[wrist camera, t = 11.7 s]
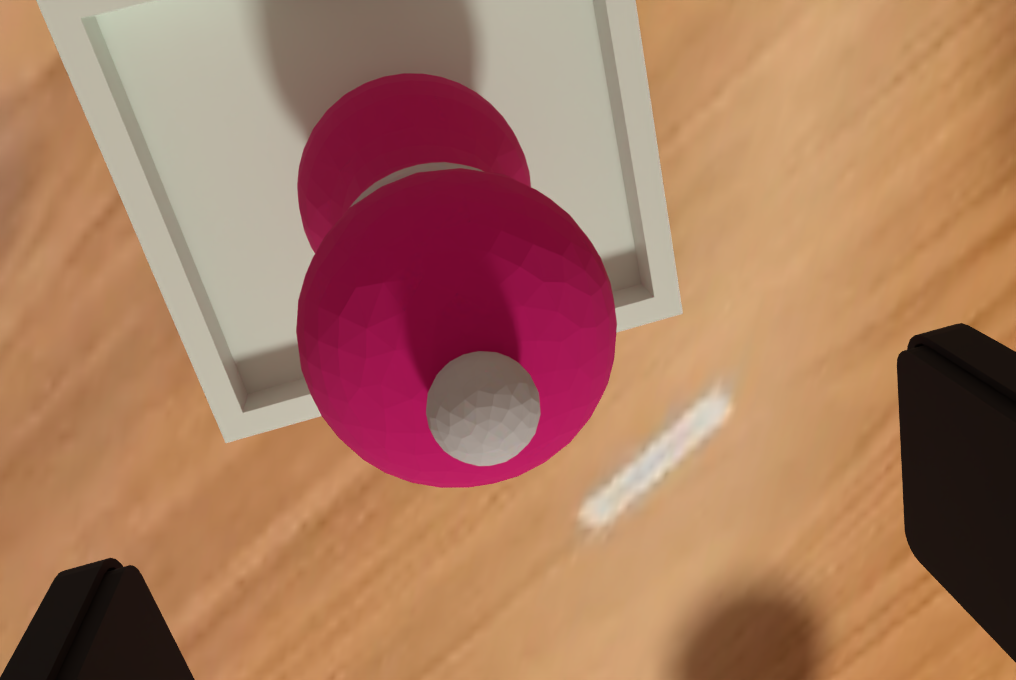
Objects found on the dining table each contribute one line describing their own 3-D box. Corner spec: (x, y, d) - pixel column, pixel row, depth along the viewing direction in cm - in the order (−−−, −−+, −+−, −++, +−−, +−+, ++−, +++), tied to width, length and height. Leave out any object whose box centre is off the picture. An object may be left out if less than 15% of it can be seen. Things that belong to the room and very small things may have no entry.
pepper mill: (292, 65, 29) (192, 206, 10) (504, 58, 30) (749, 173, 12) (315, 270, 31) (268, 662, 13) (508, 256, 32) (710, 602, 14)
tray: (594, -141, 28) (612, -151, 26) (663, 294, 35) (683, 313, 33) (55, -10, 27) (32, -9, 25) (233, 415, 34) (225, 443, 32)
